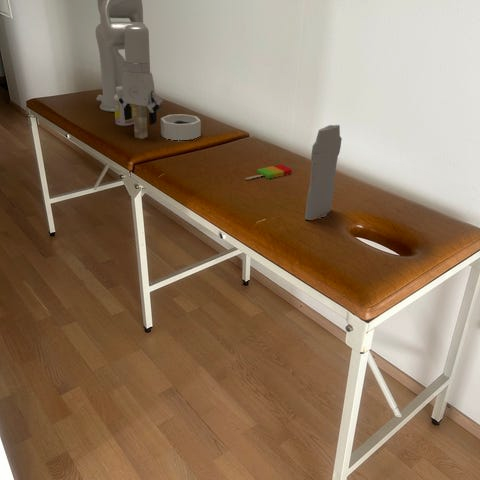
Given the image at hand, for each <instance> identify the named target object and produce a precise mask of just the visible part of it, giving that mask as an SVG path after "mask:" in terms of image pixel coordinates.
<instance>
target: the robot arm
mask: <svg viewBox="0 0 480 480" xmlns="http://www.w3.org/2000/svg"><path fill="white" fill-rule="evenodd" d="M96 1H97V2H96V3H97V8H98V13H99V21H100V23H99V24H98V25H97V26H96V28H95V38H96V42H97V47H98V52H99V60H100V61H99V62H100V73H101V85H102V94H98V95H97V97H96V101H98V102H101V104H99V108H100V110H101V111H104V112H112V113H113V112H114V113H115V108H114V96H115V95H116V94H117V96H118V99H119V102H120V103H121V104H122V107H123V108H124V116H125V120H128V119H131V118H132V109H131V106H130V104H132V105H138V106H146V108H147V109H148V110H149V112H148V124H149V125H150V126H152V125H154V124H156V123H157V117H158V116H157V112H158V111H159V110H160V108H161V107H162V104H163V102H164V99H163V98H162V97H160V96H159V95H158V94H156V92H155V91H156V89H155V83H154V77H153V73H152V72H151V62H150V61H151V59H150V58H151V57H150V34H149V32H150V31H149V29H148V27H147V26H146V25H145V23H144V9H143V0H96ZM111 19H129V21H112V20H111ZM120 50H124V55H125V56H123V55H121V53H120V52H119V51H120ZM124 57H125V58H124ZM119 86H122V90H121V91H119V92H116V87H119ZM155 102H156V103H155Z"/></svg>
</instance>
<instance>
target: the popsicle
mask: <svg viewBox="0 0 480 480" xmlns="http://www.w3.org/2000/svg"><path fill="white" fill-rule="evenodd" d="M292 170H293V169H292V168H290V167H288V166H286V165H284V164H276V165H271V166H265V167H263V168H258V169H257V170H256V174H257V173H259V174H261V175H258V174H257V175H252V176H247V177H245V180H246V181H248V180H252V179H253V178H254V179H258V178H262V177H261V176H265V177H266V178H268V179H269V178H273V177H277V178H279V177H278V176H282V177H284V176H283V175H286V176H288V175H287V174H290V173H291V172H293V171H292ZM291 174H292V173H291ZM291 174H290V175H291ZM257 177H258V178H257ZM266 178H265V179H266ZM268 179H267V180H268ZM273 179H274V178H273ZM269 180H270V179H269Z"/></svg>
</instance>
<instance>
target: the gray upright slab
mask: <svg viewBox="0 0 480 480" xmlns="http://www.w3.org/2000/svg"><path fill="white" fill-rule="evenodd" d="M340 129H341V128H340V124H335V125H334V124H330V125H327V126H325V127H323V128H320V129H318V132H317V136H316V138H315V142H314V143H313V145H312V149H311V154H310V155H311V156H310V157H311V159H310V161H311V162H312V163H311V172H310V180H309V188H308V191H307V197H306V205H305V206H306V207H305V215H304V220H305V219H308V220H310V219H314V218H318V217H325V216H326V215H328V214H329V213H328V212H330V211H332V205H333V197H334V192H335V177H336V169H337V164H338V157H339V155H340V152H341V148H342V140H343V138H342V137H341V130H340ZM327 213H328V214H327ZM330 213H331V212H330ZM326 217H327V216H326ZM326 217H325V218H326ZM318 219H319V218H318Z"/></svg>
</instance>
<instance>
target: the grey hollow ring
mask: <svg viewBox="0 0 480 480" xmlns="http://www.w3.org/2000/svg"><path fill="white" fill-rule="evenodd" d="M178 120H179V121H184V122H190V124H175V123H174V122H176V121H178ZM201 124H202V123H201V119H200V118H199V117H198V116H196V115H191V114H184V113H183V114H181V113H179V114H178V113H177V114H168V115H166V116H163V117H160V135H161V137H162V138H163V137H164V138H166V139H165V140H168V139H171V140H170V141H173V140H178V141H177V142H180V141H179V140H189V139H194V138H197V137H199V136H201V135H202V134H201V132H202V131H201V130H202V129H201V128H202V127H201V126H202V125H201ZM164 138H163V139H164ZM199 138H200V137H199ZM197 139H198V138H197Z"/></svg>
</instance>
